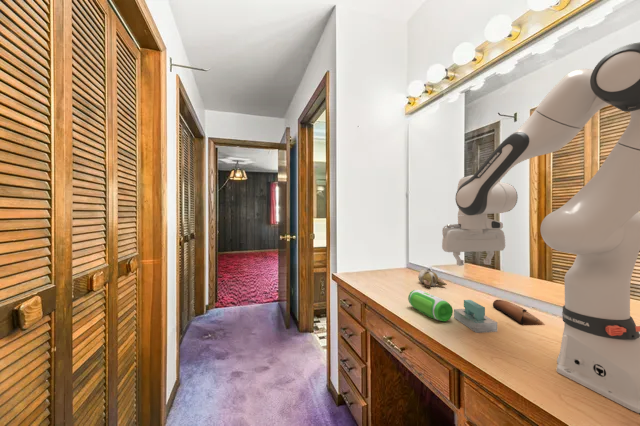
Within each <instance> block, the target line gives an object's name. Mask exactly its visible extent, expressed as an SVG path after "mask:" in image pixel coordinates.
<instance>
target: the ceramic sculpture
mask: <svg viewBox="0 0 640 426" xmlns="http://www.w3.org/2000/svg"><path fill="white" fill-rule="evenodd" d="M418 280H419V282H420V283H421V284H423V285H424V286H425V287H427V288H429V287H435V286H436V285H437V286H440V287H441V286H446V285H447V282H445V281H444V280H443V279H441V278H439V277H438V275H437V273H436V272H434V271H432V269H430V268H429V269H423V268H421V270H420V271H419V274H418Z"/></svg>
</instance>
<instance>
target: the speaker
mask: <svg viewBox="0 0 640 426" xmlns="http://www.w3.org/2000/svg"><path fill="white" fill-rule="evenodd" d="M407 301H408V303H409V304H410V305H411V307H413V308H414V309H415V310H417V311H418V312H420V313H421V314H423V315H425V316H426V317H429V318H431V319H434V320H436V321H440V322H447V321H450V319H451V318H452V316H453V314H454V309H453V307H452V305H451V304H450V303H449V302H448V301H447V300H445V299H443V298H440V297H438V296H436V295H434V294H431V293H428V292H426V291H423V290H422V289H413V290H411V291H410V292H409V293H408V298H407Z"/></svg>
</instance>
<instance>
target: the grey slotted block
mask: <svg viewBox="0 0 640 426" xmlns="http://www.w3.org/2000/svg"><path fill="white" fill-rule="evenodd" d="M453 318H454V319H455V320H457V321H458V322H460V323H461V324H462V325H464V326H465V327H467V328H468V329H470V330H471V331H473V332H474V333H475V334H477V333H478V334H480V333H498V322H497V321H495V320H493V319H492V318H490V317H488V316H487V315H486V314H485V315H484V320H478V321H477V320H476V319H474V314H466V313H465V308H454V309H453Z"/></svg>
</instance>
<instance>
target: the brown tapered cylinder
mask: <svg viewBox="0 0 640 426" xmlns="http://www.w3.org/2000/svg"><path fill="white" fill-rule="evenodd" d="M492 307H493V308H494V309H496V310H499V311H501V312H503V314H506V315H507V316H509V317H511V318H512V319H514V320H515V321H516V322H518V323H519V324H521V325H522V326H545V325H546V324H545V323H544V322H543V321H542V320H540V319H539V318H537V317H536V316H535V315H533V314H532V313H530V312H529V311H528V310H527V309H525V308H524V307H521V306H519V305H517V304H515V303H513V302H511V301H506V300H504V299H495V300H494V301H493V302H492Z"/></svg>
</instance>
